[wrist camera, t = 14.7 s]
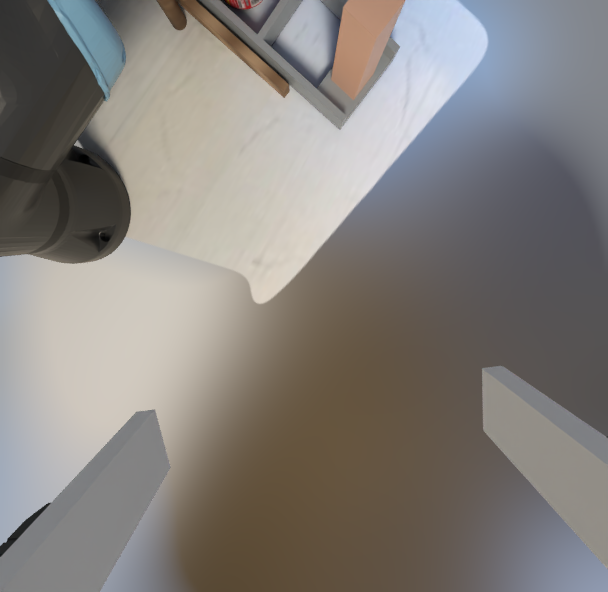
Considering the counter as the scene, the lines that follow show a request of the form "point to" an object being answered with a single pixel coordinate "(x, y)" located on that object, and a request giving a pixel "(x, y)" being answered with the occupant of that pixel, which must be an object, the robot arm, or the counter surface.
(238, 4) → the soda can
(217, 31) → the shelf riser lane
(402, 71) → the counter surface
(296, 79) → the caddy
